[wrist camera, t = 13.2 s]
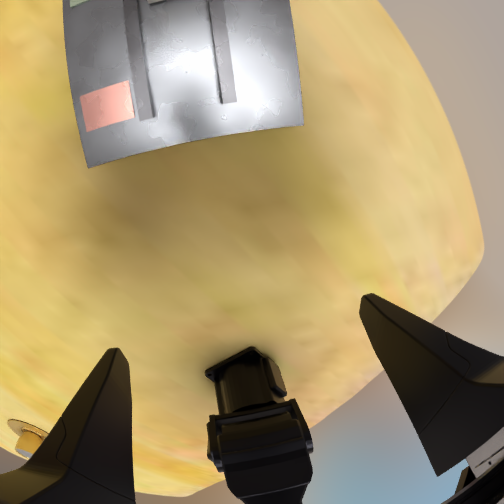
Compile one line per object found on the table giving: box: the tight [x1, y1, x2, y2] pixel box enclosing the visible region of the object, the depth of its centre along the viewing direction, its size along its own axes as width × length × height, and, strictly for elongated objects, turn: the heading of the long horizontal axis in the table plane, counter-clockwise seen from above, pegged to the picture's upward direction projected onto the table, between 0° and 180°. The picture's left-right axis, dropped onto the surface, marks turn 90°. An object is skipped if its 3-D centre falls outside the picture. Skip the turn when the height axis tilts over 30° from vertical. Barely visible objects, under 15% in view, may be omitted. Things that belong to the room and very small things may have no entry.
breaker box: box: [63, 0, 304, 168], centre depth 13 cm, size 14×14×3 cm
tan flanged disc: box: [7, 420, 48, 459], centre depth 33 cm, size 12×12×5 cm
